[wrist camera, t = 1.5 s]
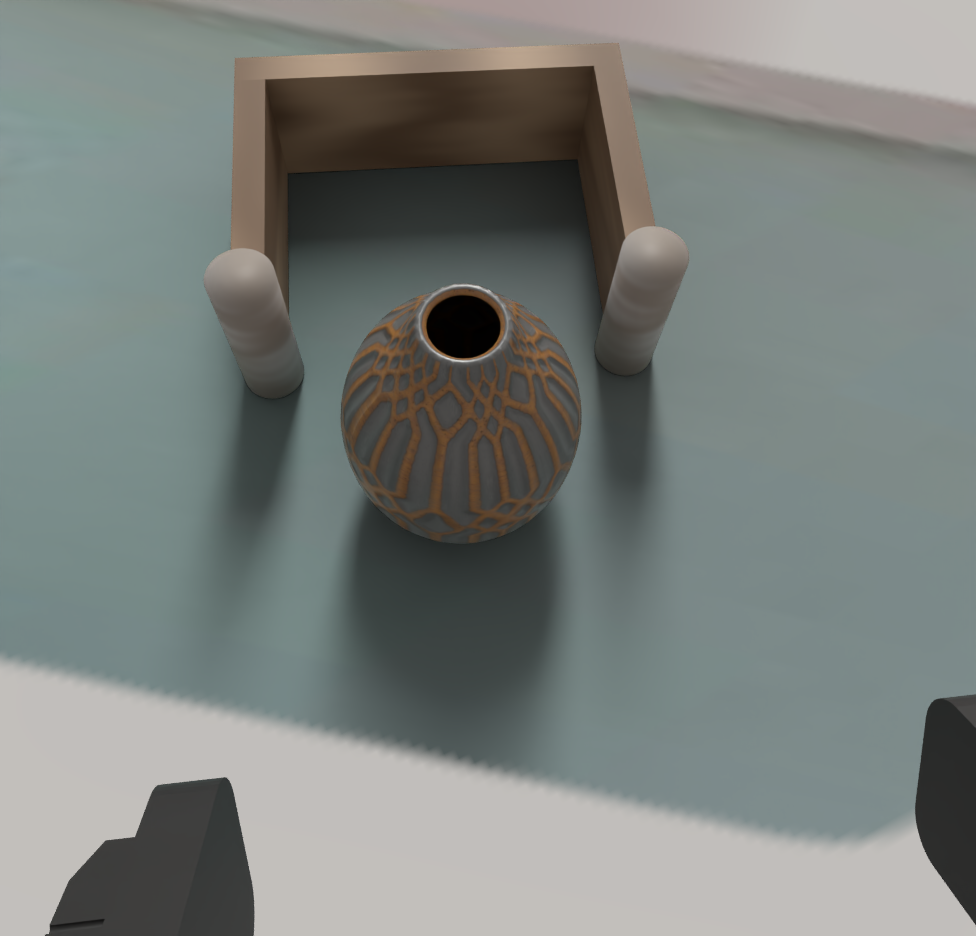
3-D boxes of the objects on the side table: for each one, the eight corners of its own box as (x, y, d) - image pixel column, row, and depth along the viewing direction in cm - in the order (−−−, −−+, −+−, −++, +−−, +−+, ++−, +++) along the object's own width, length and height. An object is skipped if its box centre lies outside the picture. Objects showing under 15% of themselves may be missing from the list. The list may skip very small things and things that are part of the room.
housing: (244, 400, 31) (202, 309, 26) (247, 154, 35) (212, 33, 30) (656, 373, 32) (694, 280, 27) (612, 137, 36) (638, 17, 31)
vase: (603, 515, 30) (660, 384, 21) (407, 606, 28) (390, 503, 20) (507, 346, 32) (525, 172, 24) (321, 423, 30) (274, 264, 22)
